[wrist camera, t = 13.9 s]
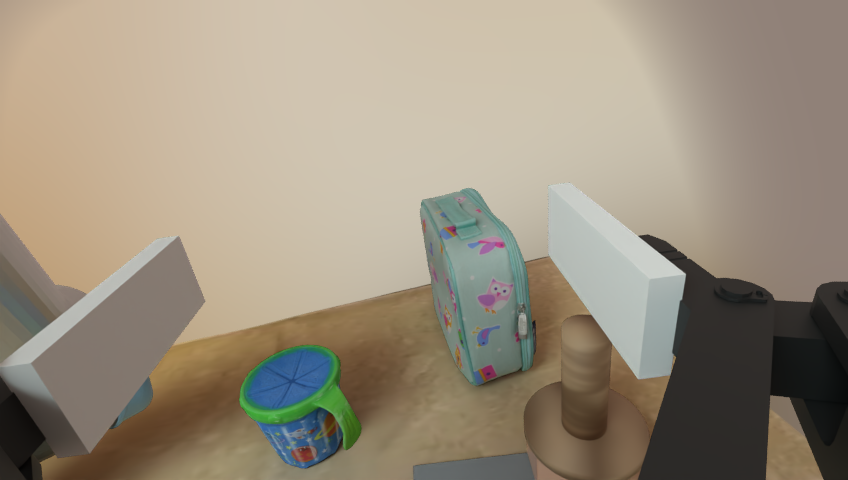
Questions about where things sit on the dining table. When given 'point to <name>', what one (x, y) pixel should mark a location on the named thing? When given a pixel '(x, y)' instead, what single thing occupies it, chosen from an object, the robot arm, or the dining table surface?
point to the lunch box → (478, 286)
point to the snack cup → (300, 404)
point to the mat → (478, 469)
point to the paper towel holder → (585, 413)
